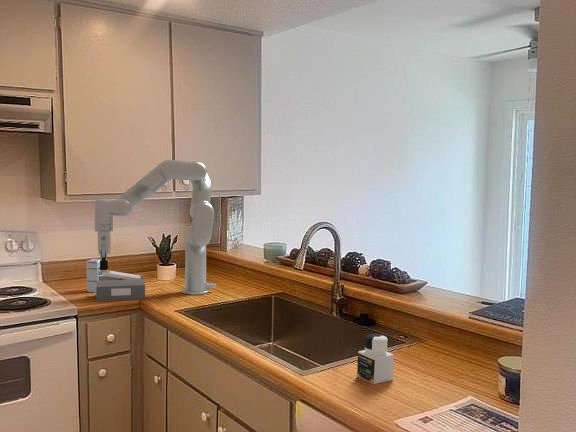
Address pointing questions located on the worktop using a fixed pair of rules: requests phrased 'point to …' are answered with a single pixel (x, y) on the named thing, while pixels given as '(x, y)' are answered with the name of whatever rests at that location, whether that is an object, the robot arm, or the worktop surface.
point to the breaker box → (119, 289)
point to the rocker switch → (120, 275)
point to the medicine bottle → (375, 360)
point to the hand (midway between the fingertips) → (103, 269)
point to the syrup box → (93, 274)
